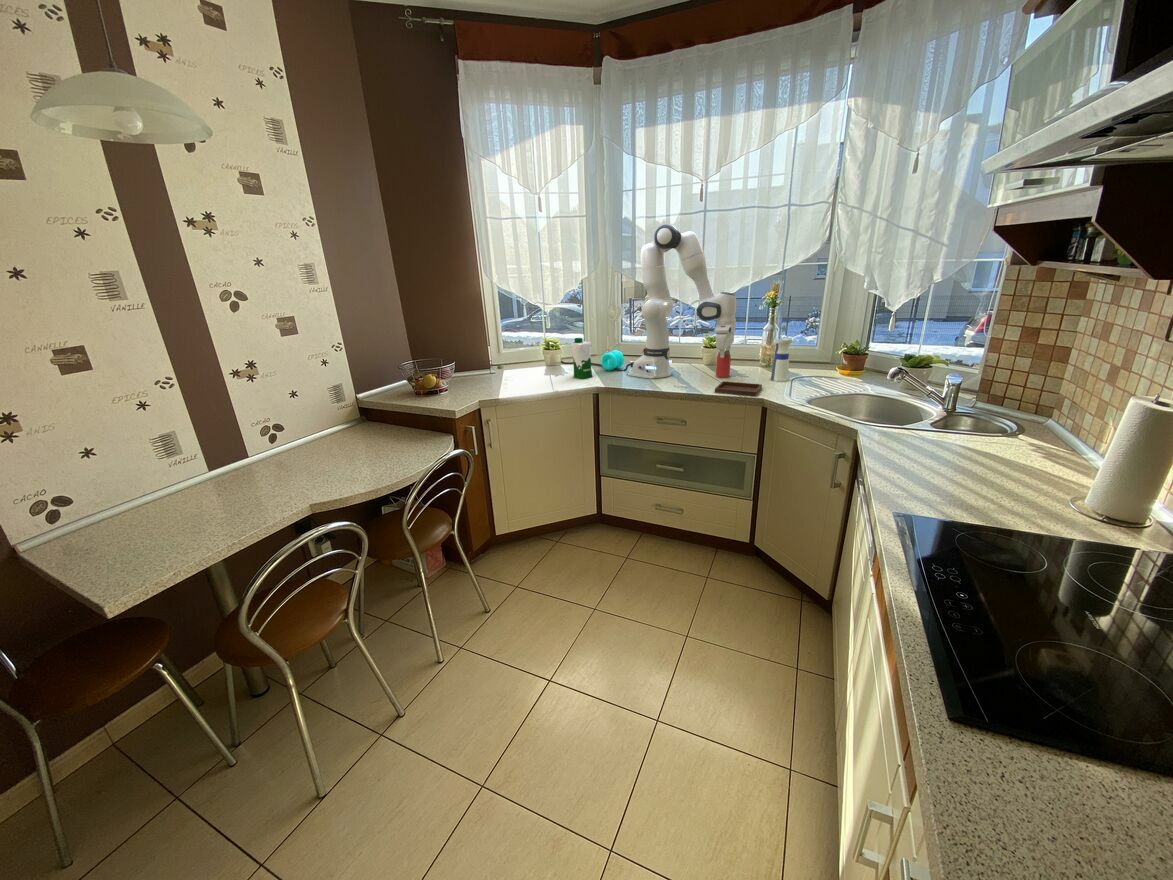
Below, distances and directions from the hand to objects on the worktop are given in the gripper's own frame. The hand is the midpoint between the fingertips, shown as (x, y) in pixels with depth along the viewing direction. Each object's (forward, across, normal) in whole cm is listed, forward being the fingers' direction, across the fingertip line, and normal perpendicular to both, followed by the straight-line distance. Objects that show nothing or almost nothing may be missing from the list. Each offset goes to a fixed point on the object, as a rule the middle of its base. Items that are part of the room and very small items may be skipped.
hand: (724, 355), depth 234 cm
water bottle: (+11, -3, +25) cm, 28 cm away
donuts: (+9, +3, -61) cm, 61 cm away
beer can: (+11, 0, -1) cm, 11 cm away
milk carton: (+9, +24, -68) cm, 72 cm away
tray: (+11, +23, +12) cm, 28 cm away
